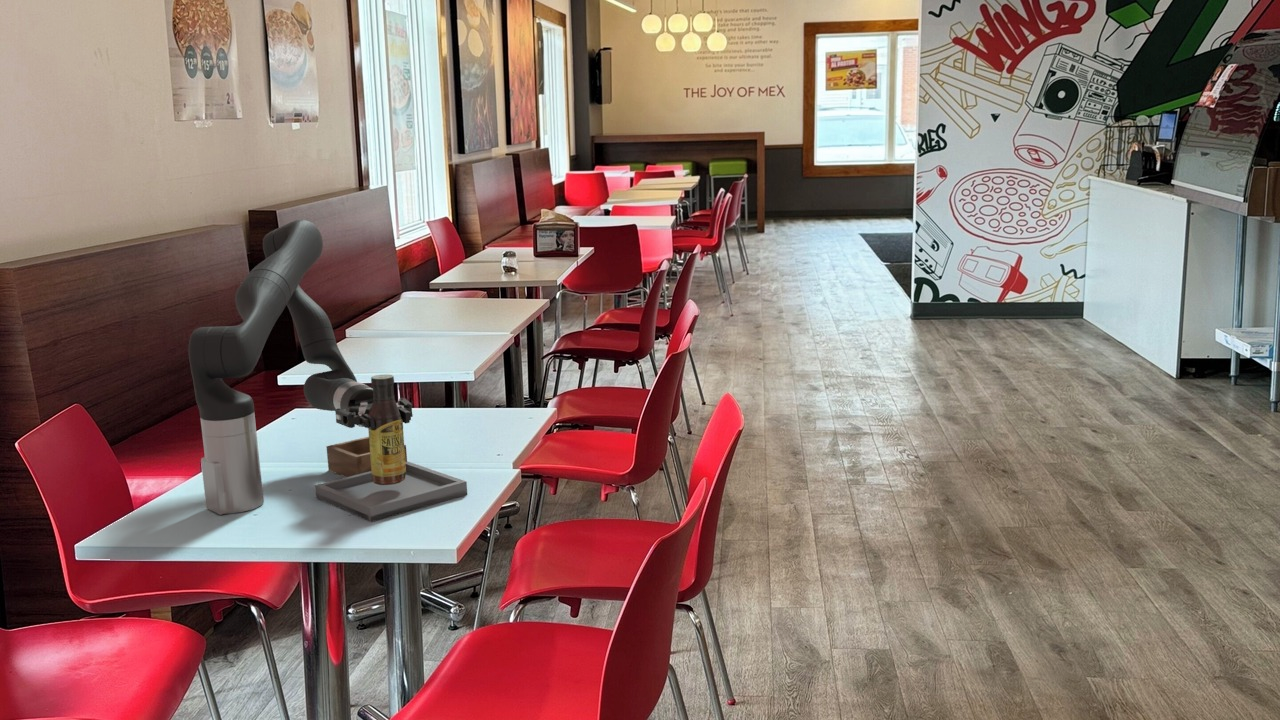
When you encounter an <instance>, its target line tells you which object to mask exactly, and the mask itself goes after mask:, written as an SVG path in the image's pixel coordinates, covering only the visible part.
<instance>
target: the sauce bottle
mask: <svg viewBox="0 0 1280 720" xmlns="http://www.w3.org/2000/svg"><path fill="white" fill-rule="evenodd" d="M370 380H371V381H370V383H371V386H372V388H373V400H374V402H373V404H372V406H371V408H370V410H369V414H368V415H370V416H372V417H373V418H374V425H375V429H372V430H370V429H368V428H367V429H368V437H369V445H370V461H371V473H372V480H373V482H374V483H375V484H378V485H392V484H397V483H400V482H402V481H403V480H404V479H405V471H406V465H405V449H404V445H405V436H404V435H405V434H404V422H403V419H402V417H401V414H400V412H399V409H398V407H397V405H396V403H397V402H396V399H395V390H394V384H395V378H394V375H393V374H377V375H372V376H371V378H370Z"/></svg>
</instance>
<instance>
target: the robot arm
mask: <svg viewBox="0 0 1280 720" xmlns="http://www.w3.org/2000/svg"><path fill="white" fill-rule="evenodd" d="M323 243H324V241H323V236H322V234H321V231H320V229H319V228H318V226H317V225H316V224H315V223H313V222H311V220H310V221H309V220H306V219H297V220H293V221H291V222H289V223H286V224H284V225H282V226H280V227H277V228H276V229H274V230H271V231H269V232H268V233H266V234H265V235H264V237H263V238H262V249H263V253H264V258H265V259H264V260H262V261H261V262H259V263H258V264H257V265H255V266H254V268H252V269H251V270H250V271H249V272H248V273H247V274H246V276H245V277H244V279H243V280H242V281H241V283H240V285H239V286H238V288H237V289H236V292H235V297H234V299H235V300H234V301H235V307H236V310H237V312H238V314H239V316H240V317H241V319H242V322H241V323H240V324H238V325H232V326H231V325H229V326H228V325H227V326H226V325H225V326H203V327H197V328H195V329H194V330H193V331H192V333H191V334H190V337H189V341H188V350H187V351H188V360H189V367H190V368H189V369H190V372H191V377H192V383H193V389H194V396H195V397H194V398H195V402H196V404H197V408H198V410H199V417H200V418H199V419H200V426H201V435H202V436H201V437H202V443H203V444H202V446H203V452H204V456H203V457H201V459H200V464H201V473H202V481H203V489H204V497H205V508H206V509H208V510H210V511H211V512H214V513H215V514H217V515H219V516H222V515H226V514H238V513H242V512H247V511H251V510H254V509H256V508H260V507H261V506H262V505H264V502H265V501H264V500H265V499H264V489H263V481H262V470H261V462H260V454H259V445H258V435H257V426H256V417H255V416H256V415H255V406H254V400H253V398H252V397H251V396H250V395H249V394H247V393H244V392H242V391H239V390H236V389H234V388H233V387H230V386H229V385H228V384H226V383H225V381H224V380H223V379H233V378H235V379H236V378H237V379H238V378H239V379H240V378H243V377H247V376H248V375H250V374H251V373H252V372H253V371H254V369H255V367H256V366H257V364H258V362H259V359H260V357H261V354H262V351H263V349H264V347H265V344H266V342H267V340H268V339H269V336H270V334H271V332H272V330H273V328H274V326H275V324H276V322H277V321H278V319H279V317H280V316H281V315H282V313H283V311H284V310H285V309H286V306H287V309H288V310H289V313H290V316H291V318H292V321H293V323H294V324H293V325H294V328H295V330H296V333H297V338H298V340H299V344H300V347H301V352H302V355H303V358H304V360H305V362H307V364H314V365H324V366H326V367H328V368H329V369H330V370H328V371H323V372H317V373H313V374H311V375H309V377H307V378H306V380H305V382H304V385H303V395H304V397H305V399H306V401H307V402H308V403H309V405H311V406H312V407H313V408H314V409H317V410H319V411H329V412H335V422H336V424H338V425H341V426H344V427H346V428H349V429H350V428H351V429H353V428H355V427H356V426H358V427H360V428H366V429H370V430H372V429H375V425H374V418H373V417H372V416H370V415H368V414H369V410H370V408H371V406H372V404H373V402H374V400H373V387H370V386H368V385H367V384H365V383H363V382H358V381H357V378H356V376H355V374H354V372H353V370H352V369H351V367H350V366H349V365H348V363H347V361H346V360H345V358H344V356H343V355H342V353H341V351H340V349H339V347H338V344H337V341H336V337H335V336H336V335H335V333H334V329H333V326H332V323H331V320H330V319H329V316H328V314H327V313H326V312H325V310H324V309H323V308H322V307H321V306H320V305H319V304H317V303H316V302H315V300H313V299H312V298H311V297H310V296H309V295H308V294H307V293H306V292H305V291H304V289H303V288H302V287H301V286H300V283H301V281H302V279H303V278H304V276H305V275H306V273H307V272H309V269H311V267H312V266H313V265H314V264H315V263H316V262H317V261H318V260H319V258H320V257H321V256H322V253H323V249H324V244H323ZM396 405H397V407H398V409H399V412H400V414H401V417H402V419H403V424H410V422H411V421H412V417H413V416H414V414H413V408H412V407H413V405H412V402H410V401H409V400H408V399H407V398H405V397H400V398H399V399H398V400H397V402H396Z"/></svg>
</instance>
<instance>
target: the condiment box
mask: <svg viewBox="0 0 1280 720" xmlns="http://www.w3.org/2000/svg"><path fill="white" fill-rule="evenodd" d="M325 447H326V456H327V466H328V467H327V468H328V471H330V472H333V473H334V474H337V475H341V476H343V477H344V478H346V477H350V476H354V475H358V474H362V473H366V472H369V471H371V461H370V445H369V436H364V437H362V438H361V437H360V438H357V439H353V440H347V441H343V442H339V443H334V444H330V445H327V446H325ZM404 449H405V462H408V455H407V445H406V444H404Z"/></svg>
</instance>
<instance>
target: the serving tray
mask: <svg viewBox="0 0 1280 720" xmlns="http://www.w3.org/2000/svg"><path fill="white" fill-rule="evenodd" d="M405 465H406V471H405V479H404V480H403V481H402V482H400V483H397V484H392V485H378V484H375V483H374V482H373V480H372V473H371V471H369V472H366V473H362V474H358V475H354V476H350V477H343V478H339V479H335V480H331V481H327V482H326V481H325V482H323V483H319V484H315V485H314V489H315V490H314V491H315V498H316V499H317V500H320V501H322V502H324V503H327V504H328V505H332V506H333V507H336V508H338V509H340V510H342V511H345V512H348V513H350V514H351V515H354V516H356V517H359V518H361V519H364V520H366V521H368V522H370V523H372V522H375V521H376V522H377V521H379V520H383V519H387V518H390V517H393V516H397V515H400V514H404V513H408V512H411V511H414V510H418V509H422V508H425V507H428V506H432V505H435V504H439V503H442V502H446V501H449V500H452V499H456V498H460V497H464V496H467V495H468V484H467V483H468V482H467V481H466V480H464V479H461V478H459V477H458V478H457V477H454V476H451V475H448V474H445V473H442V472H440V471H436V470H435V469H431V468H428V467H425V466H423V465H419V464H418V463H417V464H416V463H414V462H410V461H407V462H405Z"/></svg>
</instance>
